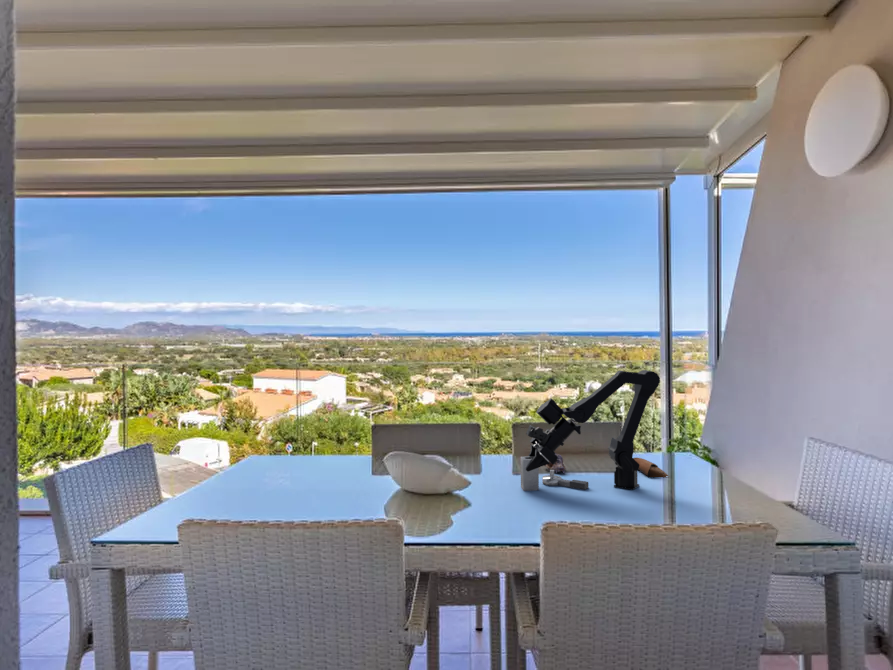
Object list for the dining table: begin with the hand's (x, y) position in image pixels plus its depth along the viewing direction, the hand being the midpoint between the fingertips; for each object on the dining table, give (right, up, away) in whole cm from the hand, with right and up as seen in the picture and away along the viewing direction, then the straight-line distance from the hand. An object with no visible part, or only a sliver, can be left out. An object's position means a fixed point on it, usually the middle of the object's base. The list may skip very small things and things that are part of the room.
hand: (525, 468), depth 196 cm
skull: (+14, -7, +24) cm, 29 cm away
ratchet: (+14, -6, +4) cm, 15 cm away
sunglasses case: (+48, -7, +21) cm, 53 cm away
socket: (+1, -7, 0) cm, 7 cm away
